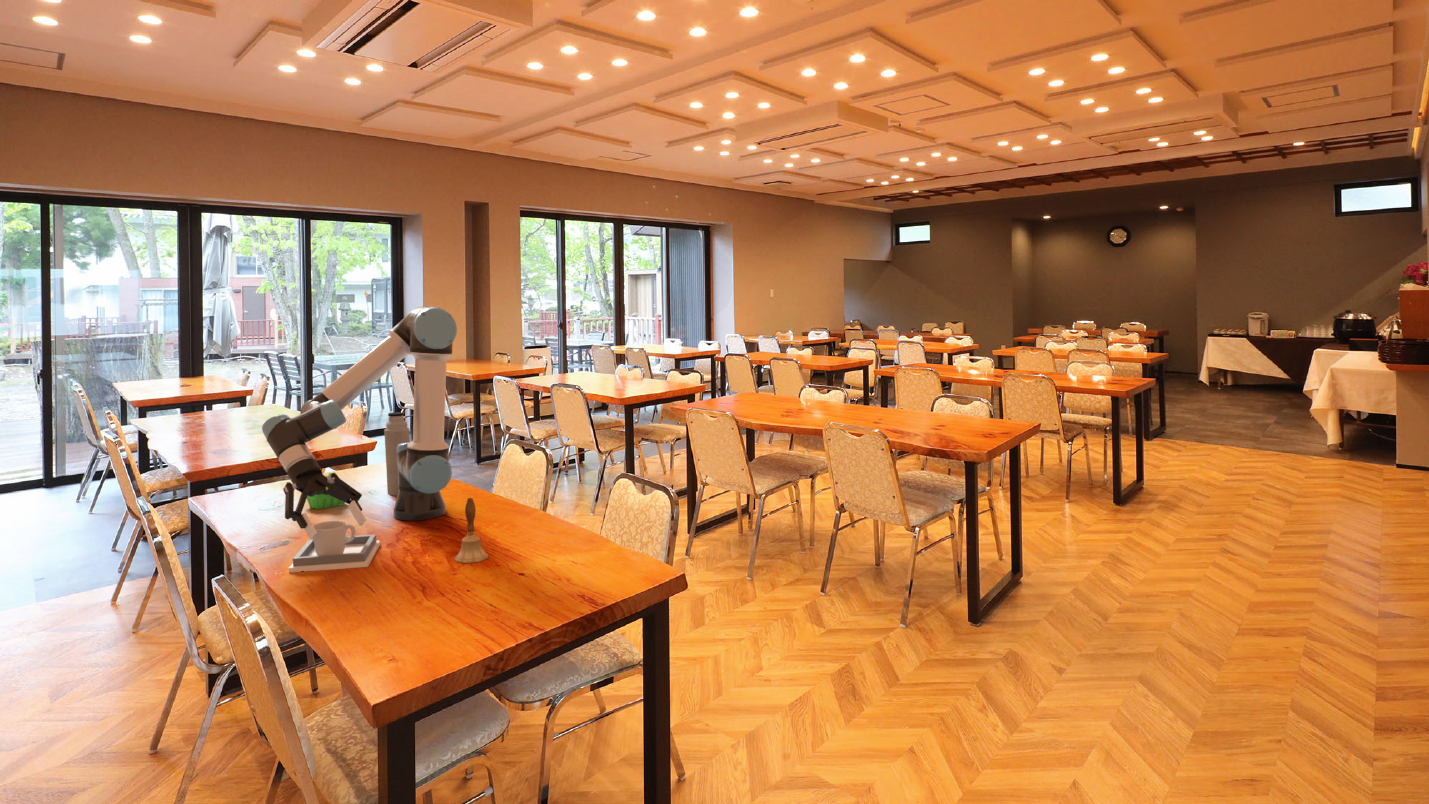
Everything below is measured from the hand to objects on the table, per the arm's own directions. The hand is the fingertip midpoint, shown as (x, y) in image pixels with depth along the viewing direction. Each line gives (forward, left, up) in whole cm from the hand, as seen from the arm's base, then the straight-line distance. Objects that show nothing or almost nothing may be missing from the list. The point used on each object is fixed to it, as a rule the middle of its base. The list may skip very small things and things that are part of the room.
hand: (339, 529), depth 199 cm
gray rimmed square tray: (+1, -1, -8) cm, 8 cm away
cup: (+1, -1, -7) cm, 7 cm away
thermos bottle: (-5, -69, -8) cm, 70 cm away
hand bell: (-33, +7, -8) cm, 34 cm away
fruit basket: (+15, -56, -8) cm, 59 cm away
